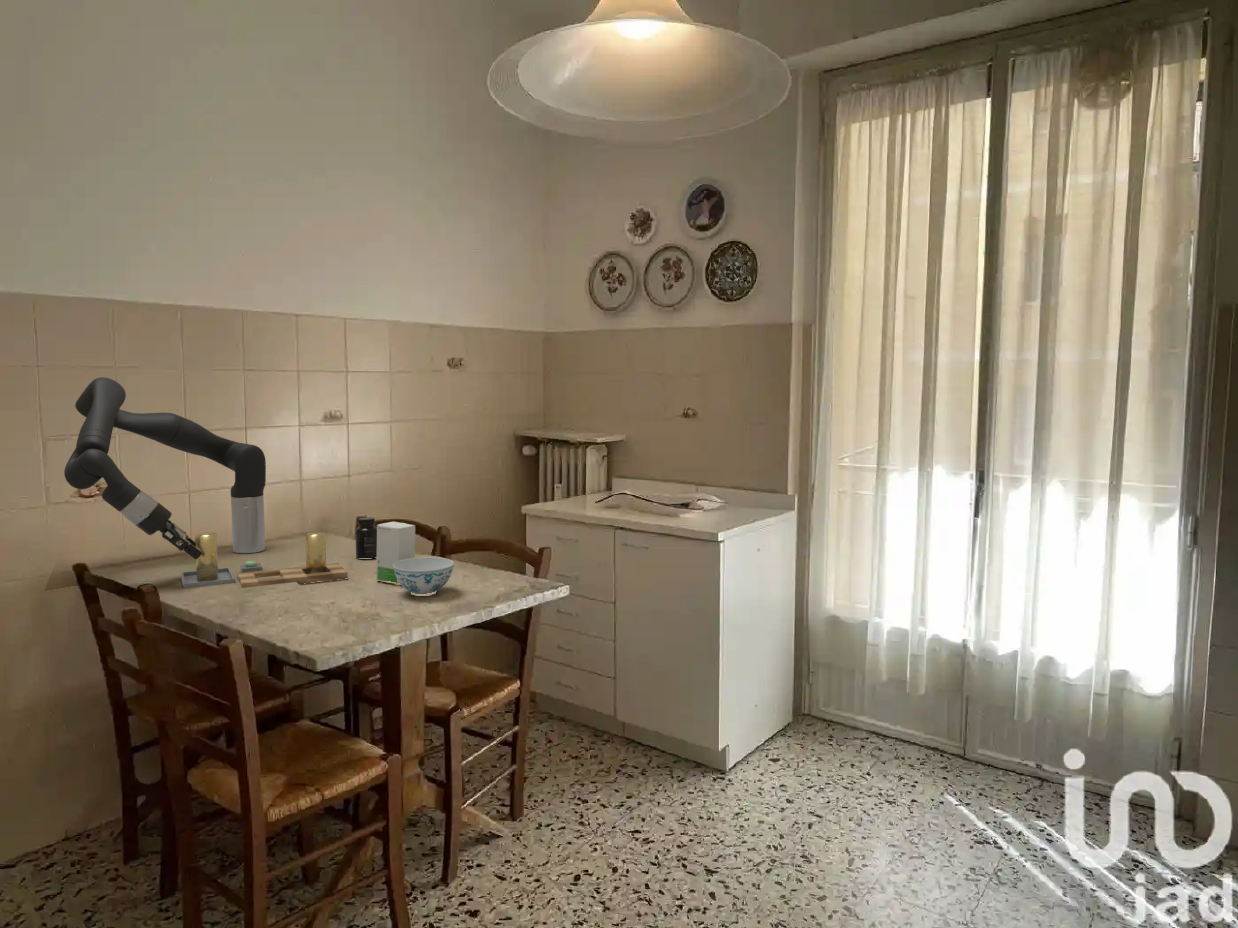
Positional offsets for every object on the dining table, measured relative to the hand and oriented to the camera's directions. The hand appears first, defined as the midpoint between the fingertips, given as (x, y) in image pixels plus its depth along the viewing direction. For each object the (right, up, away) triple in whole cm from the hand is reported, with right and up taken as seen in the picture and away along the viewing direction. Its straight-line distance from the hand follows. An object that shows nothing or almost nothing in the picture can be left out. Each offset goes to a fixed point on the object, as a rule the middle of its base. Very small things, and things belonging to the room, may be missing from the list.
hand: (198, 552), depth 214 cm
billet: (+1, -7, +2) cm, 8 cm away
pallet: (+22, -8, +6) cm, 24 cm away
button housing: (+9, -7, +11) cm, 16 cm away
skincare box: (+50, -9, +6) cm, 51 cm away
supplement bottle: (+34, -5, +34) cm, 48 cm away
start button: (+9, -5, +11) cm, 15 cm away
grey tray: (+1, -8, +2) cm, 9 cm away
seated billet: (+27, -8, +9) cm, 30 cm away
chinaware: (+60, -10, -5) cm, 61 cm away
